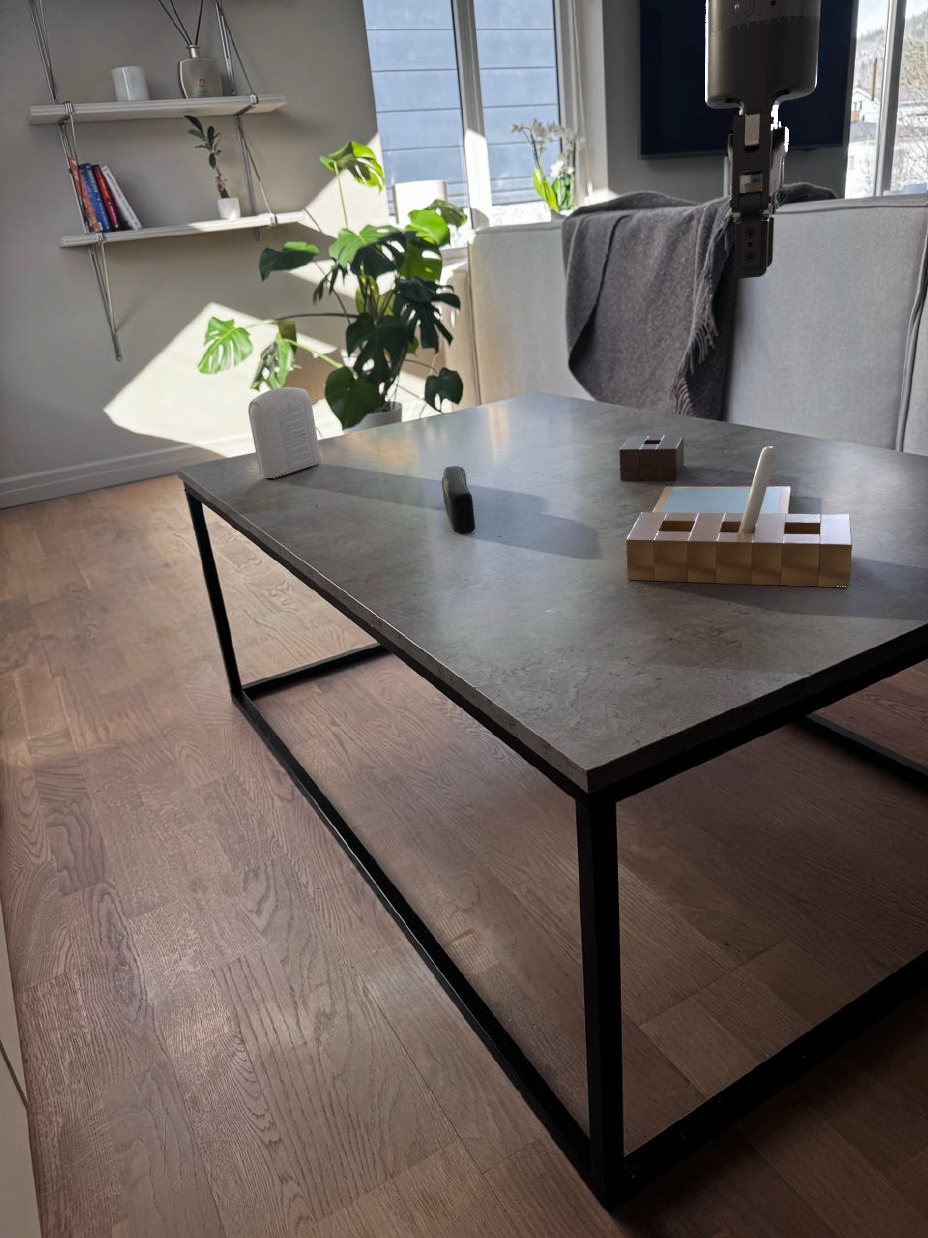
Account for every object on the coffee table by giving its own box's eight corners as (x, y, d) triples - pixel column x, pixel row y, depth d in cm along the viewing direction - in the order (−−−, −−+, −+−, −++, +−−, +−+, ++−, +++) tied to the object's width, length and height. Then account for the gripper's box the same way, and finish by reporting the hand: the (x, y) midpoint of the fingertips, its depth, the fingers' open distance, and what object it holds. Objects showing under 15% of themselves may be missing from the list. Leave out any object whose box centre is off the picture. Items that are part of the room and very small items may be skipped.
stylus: (743, 566, 83) (778, 446, 77) (742, 571, 82) (778, 450, 76) (729, 563, 83) (763, 443, 78) (728, 568, 82) (762, 446, 76)
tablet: (790, 493, 100) (790, 485, 100) (784, 549, 85) (785, 539, 85) (665, 493, 105) (665, 485, 105) (638, 546, 90) (638, 536, 90)
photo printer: (308, 460, 140) (294, 381, 135) (326, 463, 137) (312, 382, 132) (256, 478, 133) (239, 395, 128) (274, 481, 130) (257, 396, 125)
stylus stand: (683, 464, 116) (683, 434, 114) (676, 480, 110) (676, 448, 108) (630, 465, 118) (629, 435, 116) (620, 480, 112) (619, 449, 111)
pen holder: (846, 555, 82) (849, 514, 81) (848, 588, 76) (852, 544, 74) (642, 549, 89) (641, 511, 87) (627, 580, 82) (626, 539, 81)
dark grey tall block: (475, 492, 97) (460, 456, 111) (448, 495, 97) (436, 459, 110) (479, 534, 99) (464, 494, 113) (453, 538, 99) (440, 498, 113)
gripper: (819, -6, 54) (804, 276, 61) (820, 28, 66) (807, 260, 73) (693, 17, 57) (692, 285, 63) (716, 45, 69) (713, 268, 75)
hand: (754, 272), depth 68 cm, fingers open, 8 cm apart
